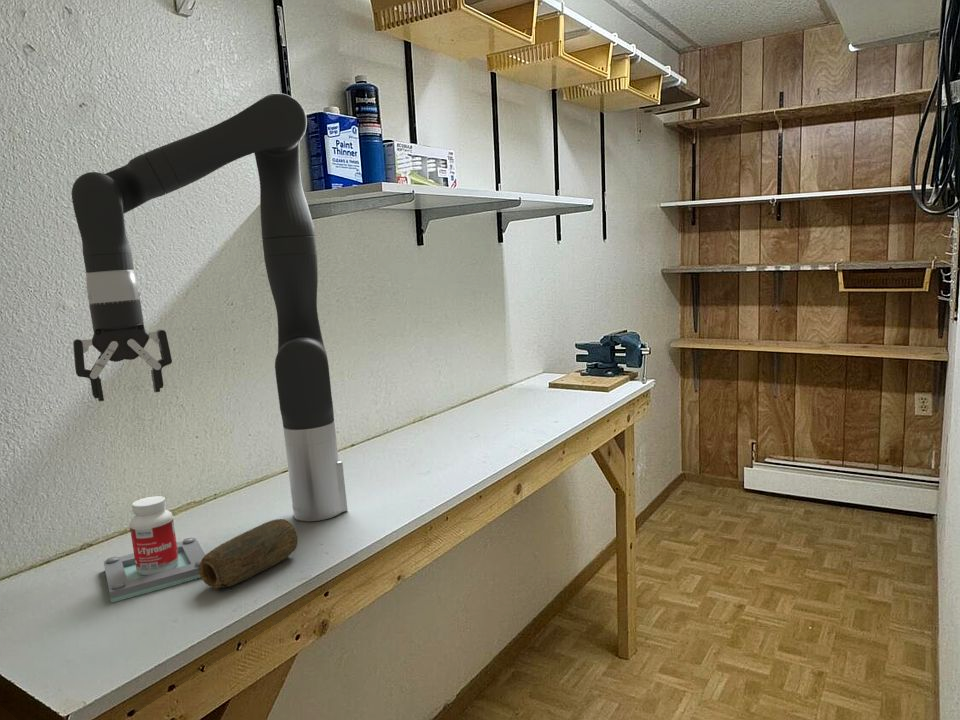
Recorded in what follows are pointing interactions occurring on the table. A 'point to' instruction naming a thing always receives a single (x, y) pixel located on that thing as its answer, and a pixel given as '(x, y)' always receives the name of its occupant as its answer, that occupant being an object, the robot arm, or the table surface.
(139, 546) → the pill bottle
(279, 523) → the brown textured cylinder
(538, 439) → the table surface
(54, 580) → the table surface
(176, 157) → the robot arm
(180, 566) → the base plate
